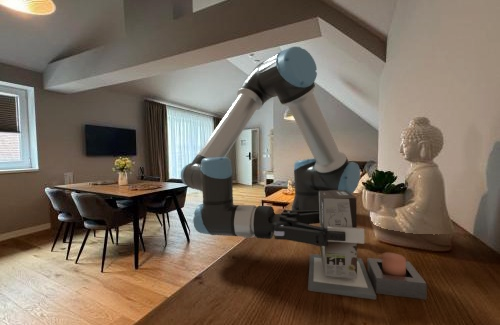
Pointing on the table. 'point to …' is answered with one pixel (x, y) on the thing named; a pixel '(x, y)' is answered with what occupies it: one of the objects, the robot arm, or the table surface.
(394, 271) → the button
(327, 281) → the drawing board
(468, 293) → the table surface
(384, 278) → the button housing
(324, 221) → the coffee box
